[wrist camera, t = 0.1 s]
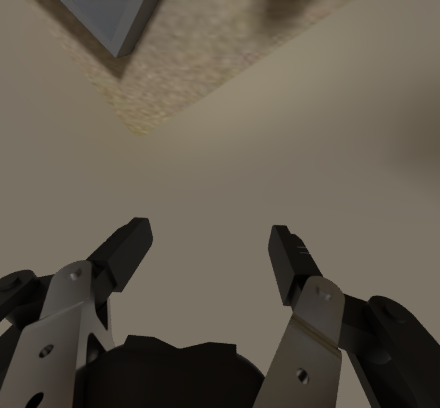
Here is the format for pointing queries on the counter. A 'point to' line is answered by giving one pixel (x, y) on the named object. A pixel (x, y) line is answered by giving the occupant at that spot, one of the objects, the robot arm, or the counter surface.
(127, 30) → the tray
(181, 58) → the counter surface
